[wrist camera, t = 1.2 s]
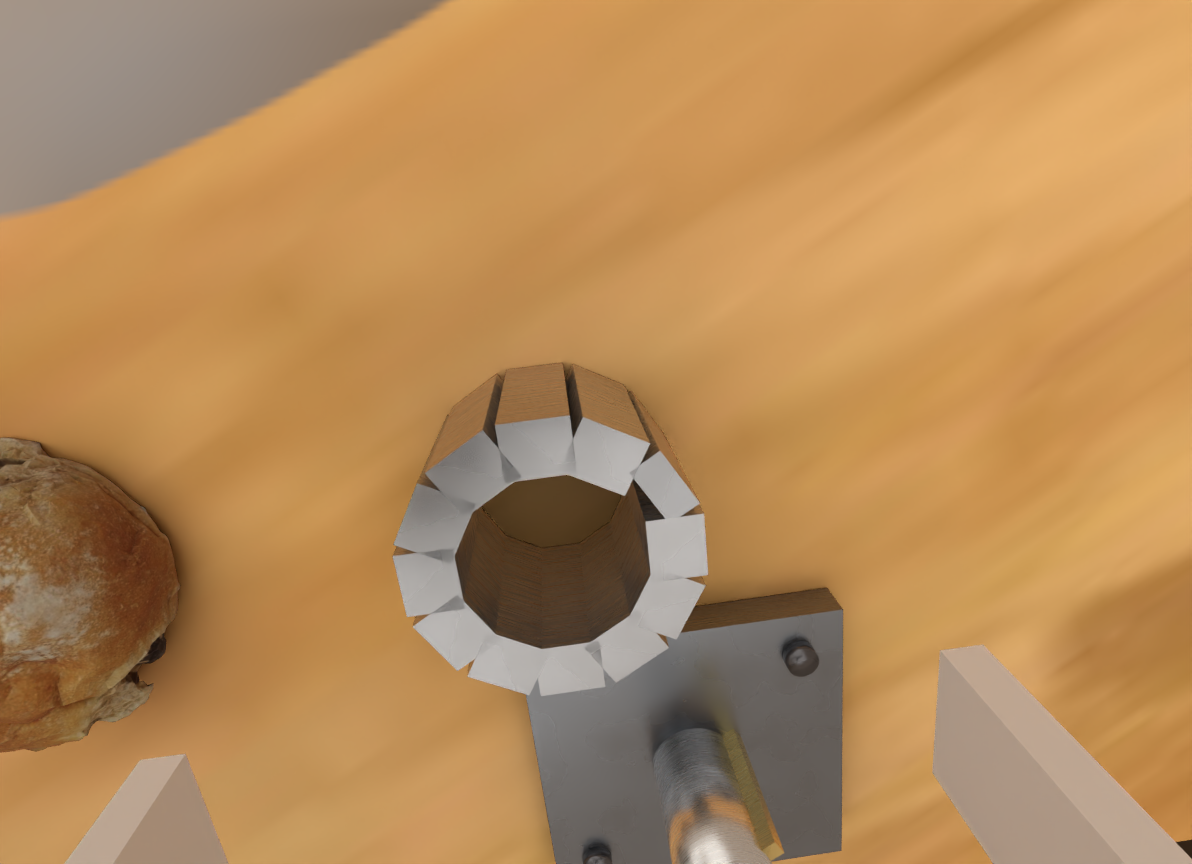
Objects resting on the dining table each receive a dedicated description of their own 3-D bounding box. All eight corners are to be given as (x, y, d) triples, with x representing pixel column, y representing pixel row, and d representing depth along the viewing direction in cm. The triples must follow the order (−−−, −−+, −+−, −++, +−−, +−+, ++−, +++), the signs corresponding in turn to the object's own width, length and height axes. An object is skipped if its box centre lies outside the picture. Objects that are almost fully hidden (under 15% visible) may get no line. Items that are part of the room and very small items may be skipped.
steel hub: (454, 598, 26) (429, 712, 20) (409, 382, 23) (365, 441, 17) (676, 567, 26) (714, 670, 20) (658, 350, 23) (696, 398, 17)
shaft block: (560, 861, 30) (567, 1090, 22) (519, 631, 26) (511, 811, 18) (827, 820, 30) (924, 1031, 23) (827, 587, 27) (944, 746, 19)
